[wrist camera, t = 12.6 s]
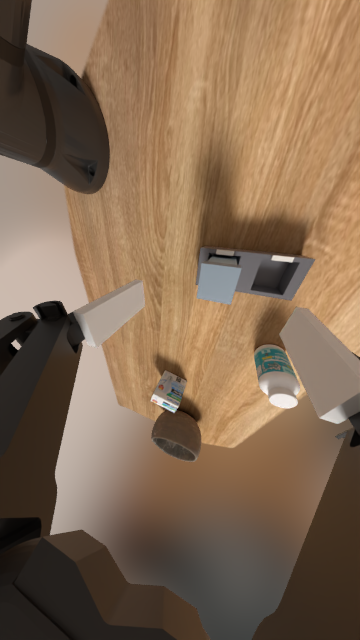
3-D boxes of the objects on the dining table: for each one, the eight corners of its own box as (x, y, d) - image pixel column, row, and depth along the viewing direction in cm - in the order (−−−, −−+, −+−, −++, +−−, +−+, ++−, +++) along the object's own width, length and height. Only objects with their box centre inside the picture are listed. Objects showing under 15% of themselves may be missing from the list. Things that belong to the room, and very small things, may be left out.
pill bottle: (289, 345, 34) (315, 396, 24) (279, 365, 38) (298, 416, 27) (256, 340, 37) (267, 385, 26) (250, 359, 40) (257, 405, 30)
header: (204, 245, 29) (199, 247, 24) (301, 255, 25) (317, 259, 20) (200, 278, 33) (195, 285, 28) (283, 291, 29) (292, 301, 24)
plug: (212, 252, 28) (201, 263, 18) (237, 255, 27) (241, 268, 16) (208, 276, 31) (196, 298, 20) (230, 279, 30) (230, 304, 19)
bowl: (193, 431, 80) (187, 466, 68) (157, 412, 82) (145, 442, 70) (211, 419, 66) (207, 460, 54) (167, 396, 68) (154, 430, 56)
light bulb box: (187, 380, 56) (179, 407, 47) (182, 388, 60) (174, 413, 51) (164, 369, 57) (152, 393, 48) (161, 377, 61) (149, 401, 52)
